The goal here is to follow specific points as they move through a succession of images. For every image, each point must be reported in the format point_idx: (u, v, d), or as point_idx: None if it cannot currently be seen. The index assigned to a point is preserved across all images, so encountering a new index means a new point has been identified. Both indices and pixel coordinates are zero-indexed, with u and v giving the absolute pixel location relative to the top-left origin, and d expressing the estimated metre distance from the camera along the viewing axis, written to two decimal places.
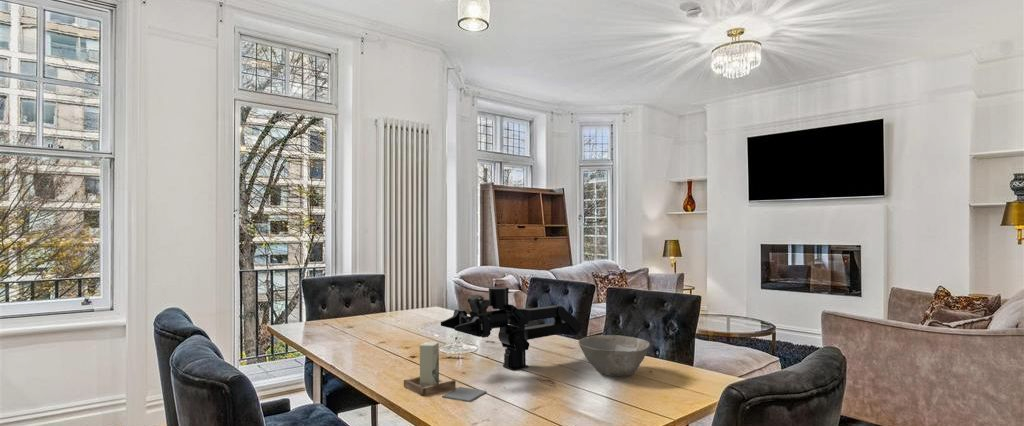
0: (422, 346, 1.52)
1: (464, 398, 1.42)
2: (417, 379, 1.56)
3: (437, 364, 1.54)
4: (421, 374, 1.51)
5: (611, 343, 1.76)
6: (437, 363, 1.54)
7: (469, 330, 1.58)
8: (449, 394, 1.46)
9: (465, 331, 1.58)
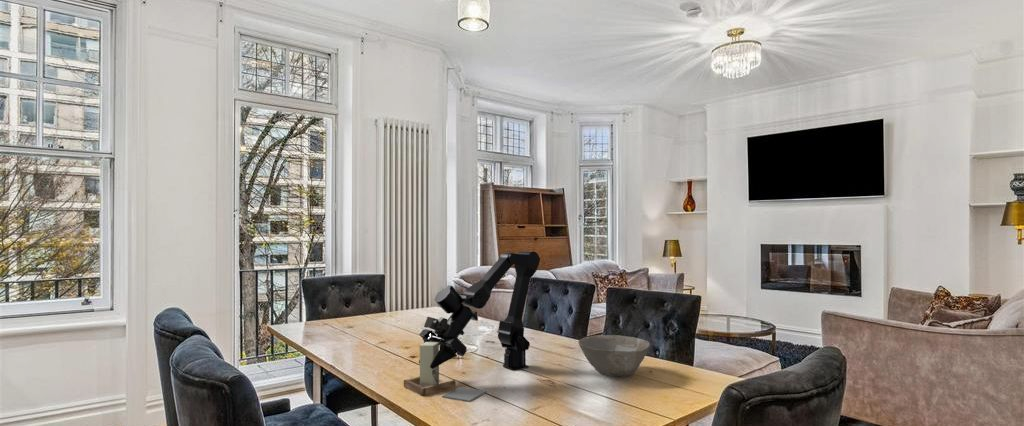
0: (422, 346, 1.52)
1: (464, 398, 1.42)
2: (417, 379, 1.56)
3: None
4: (421, 374, 1.51)
5: (611, 343, 1.76)
6: None
7: (444, 358, 1.52)
8: (449, 394, 1.46)
9: (441, 362, 1.51)
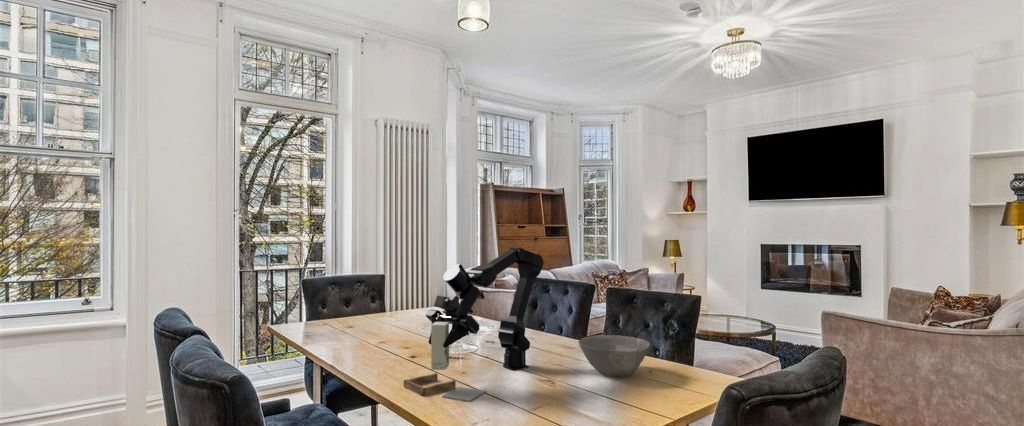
0: (434, 326, 1.49)
1: (464, 398, 1.42)
2: (417, 379, 1.56)
3: None
4: (433, 354, 1.49)
5: (611, 343, 1.76)
6: None
7: (456, 336, 1.50)
8: (449, 394, 1.46)
9: (454, 340, 1.49)
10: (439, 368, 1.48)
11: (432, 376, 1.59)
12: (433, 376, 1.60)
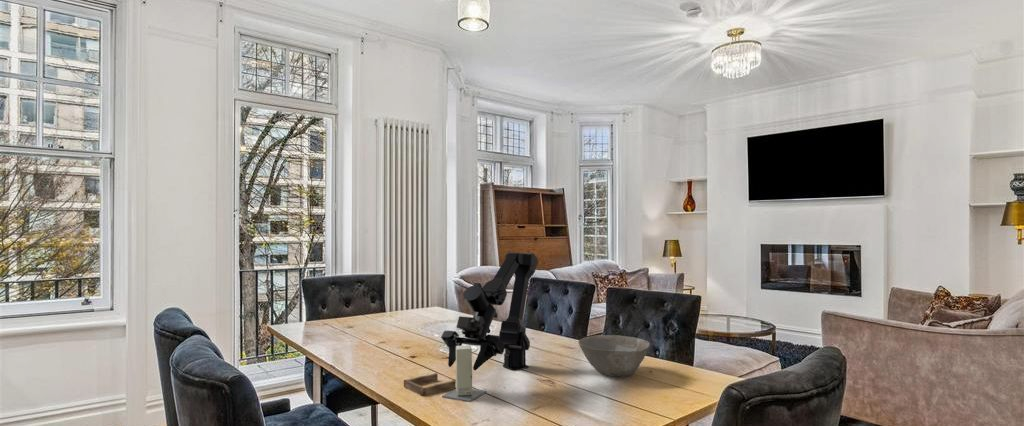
0: (459, 350, 1.45)
1: (464, 398, 1.42)
2: (417, 379, 1.56)
3: None
4: (459, 380, 1.44)
5: (611, 343, 1.76)
6: None
7: (484, 358, 1.46)
8: (449, 394, 1.46)
9: (482, 362, 1.46)
10: (465, 393, 1.44)
11: (432, 376, 1.59)
12: (433, 376, 1.60)
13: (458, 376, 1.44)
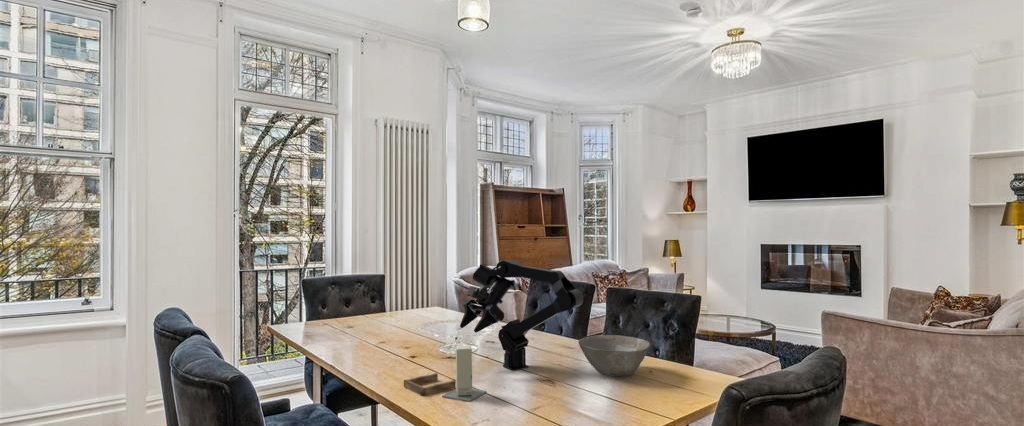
0: (459, 350, 1.45)
1: (464, 398, 1.42)
2: (417, 379, 1.56)
3: None
4: (459, 380, 1.44)
5: (611, 343, 1.76)
6: None
7: (486, 323, 1.68)
8: (449, 394, 1.46)
9: (484, 326, 1.68)
10: (465, 393, 1.44)
11: (432, 376, 1.59)
12: (433, 376, 1.60)
13: (458, 376, 1.44)
